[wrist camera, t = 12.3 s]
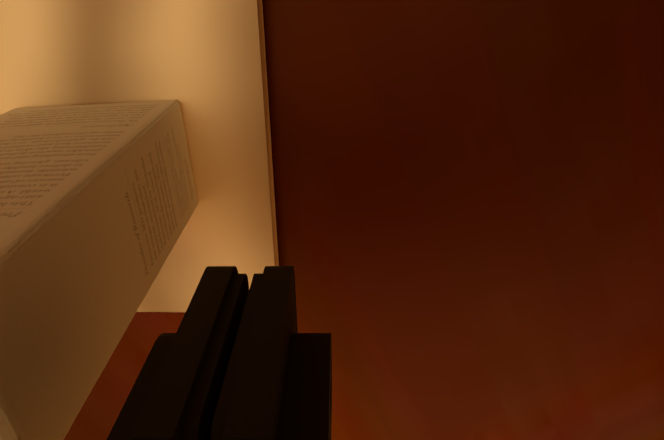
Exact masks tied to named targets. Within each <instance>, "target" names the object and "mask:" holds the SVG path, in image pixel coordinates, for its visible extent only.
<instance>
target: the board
mask: <svg viewBox="0 0 664 440" xmlns="http://www.w3.org/2000/svg"><path fill="white" fill-rule="evenodd" d="M167 100H177V101H178V102H179V104H180V108H181V113H182V119H183V124H184V130H185V135H186V141H187V146H188V152H189V158H190V163H191V168H192V173H193V178H194V183H195V188H196V192H197V197H198V204H197V207H196V208H195V210H194V212H193V214H192V215H191V217H190V219H189V221H188V222H187V224H186V226H185V228H184V229H183V231H182V233H181V235H180V237H179V238H178V240H177V242H176V243H175V245H174V247H173V249H172V251H171V252H170V254H169V256H168V257H167V259H166V261H165V263H164V264H163V266H162V268H161V270H160V272H159V273H158V275H157V277H156V278H155V280H154V282H153V284H152V285H151V287H150V289H149V291H148V292H147V294H146V296H145V298H144V299H143V301H142V303H141V304H140V306H139V308H138V309H137V311H136V312H186V311H187V308H188V306H189V304H190V302H191V299H192V297H193V295H194V293H195V290H196V288H197V286H198V284H199V282H200V279H201V277H202V275H203V273H204V270H205V269H206V267H208V266H236V267H237V270H238V274H247V276H248V283H249V289H250V286H251V282H252V279H253V275H254V274H255V273H263V271H264V268H265V266H279V259H278V243H277V227H276V211H275V195H274V180H273V164H272V148H271V132H270V116H269V100H268V85H267V69H266V53H265V37H264V21H263V5H262V0H0V115H1V114H3V113H6V112H8V111H10V110H12V109H15V108H28V107H47V106H65V105H86V104H104V103H125V102H147V101H167Z"/></svg>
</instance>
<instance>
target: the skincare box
mask: <svg viewBox="0 0 664 440" xmlns="http://www.w3.org/2000/svg"><path fill="white" fill-rule="evenodd" d="M197 204H198V197H197V192H196V188H195V183H194V178H193V173H192V168H191V163H190V158H189V152H188V146H187V141H186V135H185V130H184V124H183V119H182V113H181V108H180V104H179V102H178V101H177V100H167V101H147V102H125V103H104V104H86V105H65V106H47V107H28V108H15V109H12V110H10V111H8V112H6V113H3V114H1V115H0V440H63V439H64V438H65V436H66V434H67V432H68V431H69V429H70V427H71V425H72V423H73V422H74V420H75V418H76V416H77V415H78V413H79V411H80V409H81V408H82V406H83V404H84V402H85V401H86V399H87V397H88V395H89V394H90V392H91V390H92V388H93V387H94V385H95V383H96V381H97V380H98V378H99V376H100V375H101V373H102V371H103V370H104V368H105V366H106V364H107V362H108V360H109V359H110V357H111V355H112V353H113V352H114V350H115V348H116V347H117V345H118V343H119V342H120V340H121V338H122V336H123V334H124V332H125V331H126V329H127V327H128V325H129V324H130V322H131V320H132V318H133V317H134V315H135V313H136V311H137V309H138V308H139V306H140V304H141V303H142V301H143V299H144V298H145V296H146V294H147V292H148V291H149V289H150V287H151V285H152V284H153V282H154V280H155V278H156V277H157V275H158V273H159V272H160V270H161V268H162V266H163V264H164V263H165V261H166V259H167V257H168V256H169V254H170V252H171V251H172V249H173V247H174V245H175V243H176V242H177V240H178V238H179V237H180V235H181V233H182V231H183V229H184V228H185V226H186V224H187V222H188V221H189V219H190V217H191V215H192V214H193V212H194V210H195V208H196V207H197Z"/></svg>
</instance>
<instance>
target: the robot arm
mask: <svg viewBox="0 0 664 440" xmlns="http://www.w3.org/2000/svg"><path fill="white" fill-rule="evenodd" d="M331 416H332V351H331V333H298V332H297V313H296V294H295V275H294V267H293V266H265V268H264V271H263V273H255V274H254V275H253V279H252V282H251V286H250V289H249V283H248V276H247V274H238V270H237V267H236V266H208V267H206V269H205V270H204V273H203V275H202V277H201V279H200V282H199V284H198V286H197V288H196V290H195V293H194V295H193V297H192V299H191V302H190V304H189V306H188V308H187V311H186V313H185V315H184V317H183V319H182V322H181V324H180V326H179V328H178V331H177V333H163V334H161V335H160V336H159V337H158V338H157V340H156V341H155V343H154V345H153V347H152V349H151V351H150V353H149V355H148V357H147V359H146V361H145V364H144V366H143V368H142V370H141V372H140V374H139V376H138V378H137V380H136V382H135V384H134V386H133V388H132V390H131V392H130V394H129V396H128V398H127V400H126V402H125V404H124V406H123V408H122V410H121V412H120V414H119V416H118V418H117V420H116V422H115V424H114V426H113V428H112V430H111V432H110V434H109V436H108V438H107V440H331Z"/></svg>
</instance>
